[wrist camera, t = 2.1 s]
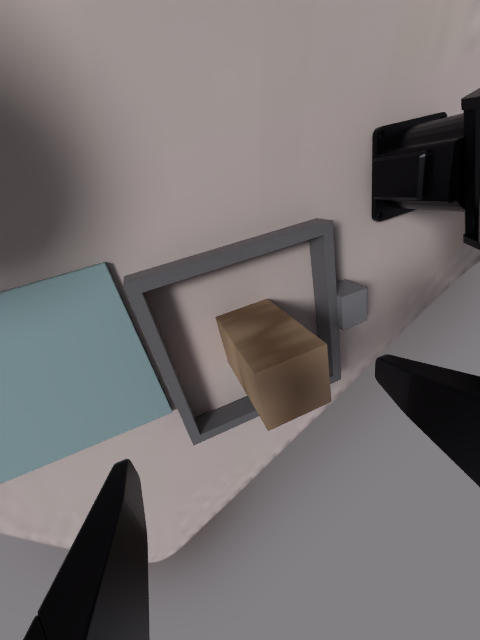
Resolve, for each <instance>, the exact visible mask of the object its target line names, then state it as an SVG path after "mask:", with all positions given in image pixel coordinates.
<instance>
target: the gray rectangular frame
mask: <svg viewBox="0 0 480 640" xmlns="http://www.w3.org/2000/svg"><path fill="white" fill-rule="evenodd" d="M307 240H309V243H310V254H311V264H312V275H313V286H314V296H315V307H316V318H317V328H318V338H320V339H321V340H322V341H324V342H325V343H326V344H327V351H328V364H329V377H330V384H331V383H334V382H336V381H338V380H340V379H341V367H340V348H339V328H341V329H342V330H344V329H347V328H349V327H351V326H354V325H356V324H359V323H361V322H364V321H366V320H367V288H366V287H364V286H361V285H359V284H356V283H354V282H351V281H348V280H346V279H345V280H342V281H340V282H337V283H336V271H335V252H334V233H333V220H325V219H318V218H316V219H313V220H310V221H306V222H303V223H300V224H296V225H293V226H290V227H286V228H283V229H280V230H276V231H273V232H270V233H266V234H263V235H260V236H256V237H253V238H250V239H246V240H243V241H240V242H237V243H233V244H230V245H227V246H223V247H220V248H217V249H213V250H210V251H207V252H203V253H200V254H197V255H193V256H190V257H187V258H183V259H180V260H177V261H173V262H170V263H167V264H164V265H160V266H157V267H154V268H150V269H147V270H144V271H140V272H137V273H134V274H130V275H127V276H124V283H123V285H124V287H125V290H126V292H127V294H128V297H129V299H130V301H131V303H132V306H133V308H134V310H135V313H136V315H137V317H138V319H139V322H140V324H141V326H142V329H143V331H144V333H145V335H146V338H147V340H148V342H149V345H150V347H151V349H152V351H153V354H154V356H155V358H156V361H157V363H158V365H159V367H160V370H161V372H162V374H163V377H164V379H165V381H166V383H167V386H168V388H169V390H170V393H171V395H172V397H173V399H174V402H175V404H176V406H177V409H178V411H179V413H180V415H181V418H182V420H183V422H184V425H185V427H186V429H187V431H188V434H189V436H190V438H191V441H192V443H193V445H196V444H198V443H200V442H202V441H205V440H207V439H209V438H211V437H213V436H216V435H218V434H220V433H222V432H225V431H227V430H229V429H231V428H234V427H236V426H238V425H240V424H242V423H245V422H247V421H249V420H251V419H254V418H256V417H258V416H259V414H258V413H257V411H256V409H255V407H254V406H253V404H252V402H251V400H250V399H249V397H248V396H246V397H244V398H242V399H239V400H237V401H235V402H232V403H230V404H228V405H225V406H223V407H221V408H218V409H216V410H214V411H211V412H209V413H207V414H204V415H202V416H200V417H197V418H195V416H194V414H193V412H192V409H191V407H190V404H189V402H188V399H187V397H186V394H185V392H184V389H183V387H182V384H181V382H180V379H179V377H178V375H177V372H176V370H175V367H174V365H173V362H172V360H171V357H170V355H169V352H168V350H167V347H166V345H165V342H164V340H163V338H162V335H161V333H160V330H159V328H158V325H157V323H156V320H155V318H154V315H153V313H152V310H151V308H150V305H149V303H148V301H147V298H146V296H145V293H144V292H146V291H149V290H152V289H156V288H159V287H162V286H165V285H168V284H171V283H174V282H178V281H181V280H184V279H187V278H190V277H193V276H196V275H200V274H203V273H206V272H209V271H212V270H215V269H219V268H222V267H225V266H228V265H231V264H234V263H237V262H241V261H244V260H247V259H250V258H253V257H256V256H259V255H263V254H266V253H269V252H272V251H275V250H278V249H281V248H285V247H288V246H291V245H294V244H297V243H300V242H303V241H307ZM338 327H339V328H338Z"/></svg>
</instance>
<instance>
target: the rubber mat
mask: <svg viewBox="0 0 480 640" xmlns="http://www.w3.org/2000/svg"><path fill="white" fill-rule="evenodd" d="M169 413H172V409H171V407H170V404H169V402H168V400H167V398H166V395H165V393H164V391H163V389H162V387H161V384H160V382H159V380H158V378H157V376H156V373H155V371H154V369H153V367H152V364H151V362H150V360H149V358H148V356H147V353H146V351H145V349H144V347H143V345H142V342H141V340H140V338H139V336H138V333H137V331H136V329H135V327H134V325H133V322H132V320H131V318H130V316H129V314H128V311H127V309H126V307H125V305H124V302H123V300H122V298H121V296H120V294H119V291H118V289H117V287H116V285H115V283H114V280H113V278H112V276H111V274H110V272H109V269H108V267H107V265H106V263H105V262H103V263H100V264H96V265H93V266H89V267H86V268H82V269H79V270H75V271H72V272H69V273H65V274H62V275H58V276H55V277H51V278H48V279H44V280H41V281H37V282H34V283H30V284H27V285H23V286H20V287H16V288H13V289H9V290H6V291H2V292H0V483H4V482H6V481H9V480H11V479H13V478H16V477H18V476H21V475H23V474H25V473H28V472H30V471H33V470H35V469H37V468H40V467H42V466H45V465H47V464H49V463H52V462H54V461H57V460H59V459H61V458H64V457H66V456H69V455H71V454H73V453H76V452H78V451H81V450H83V449H85V448H88V447H90V446H93V445H95V444H97V443H100V442H102V441H105V440H107V439H109V438H112V437H114V436H117V435H119V434H121V433H124V432H126V431H129V430H131V429H133V428H136V427H138V426H141V425H143V424H145V423H148V422H150V421H153V420H155V419H157V418H160V417H162V416H165V415H167V414H169Z"/></svg>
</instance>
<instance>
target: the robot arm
mask: <svg viewBox="0 0 480 640" xmlns="http://www.w3.org/2000/svg"><path fill="white" fill-rule="evenodd" d="M461 106H462V110H464V113H463V114H459V115H455V116H450V117H447V114H446V113H445V112H441V113H437V114H433V115H428V116H424V117H420V118H416V119H411V120H407V121H403V122H399V123H394V124H390V125H386V126H382V127H378V128H376V129H375V131H374V133H373V144H372V219H373V220H374V221H382V220H385V219H389V218H392V217H395V216H398V215H401V214H404V213H407V212H410V211H413V210H417V209H423V210H442V211H461V212H465V234H464V235H463V242H464V243H466V244H468V245H470V246H472V247H474V248H477V249H479V250H480V88H479V89H477V90H476V91H474V92H472V93H470V94H469V95H467V96H465V97H463V98H462V99H461ZM380 132H381V137H380ZM378 213H379V216H378ZM375 378H376V380H377V381H378V383H379V384H380V385H381V386H382V387H383V389H384V390H385V391H386V392H387V393H388V394H389V396H390V397H391V398H392V399H393V400H394V402H395V403H396V404H397V405H398V406H399V407H400V409H401V410H402V411H403V412H404V413H405V414H406V415H407V416H408V417H409V418H410V419H411V420H412V421H413V422H414V423H415V424H416V425H417V426H418V427H419V428H420V429H421V430H422V431H423V432H424V433H425V434H426V435H427V436H428V437H429V438H430V439H431V440H432V441H433V442H434V443H435V444H436V445H437V446H438V447H439V448H440V449H441V450H442V451H443V452H444V453H446V454H447V455H448V456H449V457H450V458H451V459H452V460H453V461H454V462H455V463H456V464H457V465H458V466H459V467H460V468H461V469H462V470H463V471H464V472H465V473H466V474H467V475H468V476H469V477H470V478H471V479H472V480H473V481H474V482H475V483H476V484H477V485H478V486H479V487H480V376H475V375H471V374H467V373H463V372H459V371H455V370H451V369H447V368H442V367H438V366H434V365H430V364H426V363H421V362H417V361H413V360H409V359H405V358H401V357H397V356H392V355H388V354H387V355H383V356H381V357H378V358H377V359H376V363H375ZM148 596H149V594H148V543H147V529H146V521H145V513H144V505H143V498H142V490H141V482H140V478H139V475H138V473H137V471H136V470H135V468H134V466H133V464H132V462H131V461H130V460H129V459H125V460H122V461H120V462H118V463H116V464H114V466H113V467H112V469H111V471H110V473H109V475H108V477H107V479H106V481H105V483H104V485H103V487H102V488H101V490H100V492H99V494H98V496H97V498H96V500H95V502H94V504H93V506H92V508H91V510H90V512H89V514H88V516H87V517H86V519H85V521H84V523H83V525H82V527H81V529H80V531H79V533H78V535H77V537H76V539H75V541H74V543H73V544H72V546H71V548H70V550H69V552H68V554H67V556H66V558H65V560H64V562H63V564H62V566H61V568H60V570H59V572H58V574H57V575H56V577H55V579H54V581H53V583H52V585H51V587H50V589H49V591H48V593H47V595H46V597H45V599H44V600H43V602H42V604H41V607H40V608H39V610H38V615H37V616H35V618H34V620H33V621H32V623H31V625H30V627H29V629H28V631H27V633H26V635H25V637H24V639H23V640H149V597H148Z"/></svg>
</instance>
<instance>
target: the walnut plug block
mask: <svg viewBox="0 0 480 640" xmlns="http://www.w3.org/2000/svg"><path fill="white" fill-rule="evenodd" d="M216 321H217V324H218V328H219V331H220V335H221V338H222V342H223V345H224V349H225V352H226V356H227V359H228V363H229V364H230V366H231V368H232V370H233V371H234V373H235V375H236V376H237V378H238V380H239V382H240V383H241V385H242V387H243V388H244V390H245V392H246V394H247V395H248V397H249V399H250V400H251V402H252V404H253V406H254V407H255V409H256V411H257V413H258V414H259V416H260V418H261V419H262V421H263V423H264V425H265V426H266V428H267V430H268V431H269V430H271V429H274V428H276V427H278V426H280V425H282V424H284V423H287V422H289V421H291V420H293V419H295V418H297V417H299V416H302V415H304V414H306V413H308V412H310V411H312V410H314V409H317V408H319V407H321V406H323V405H325V404H327V403H330V402H331V390H330V377H329V364H328V351H327V344H326V343H325V342H324V341H322V340H321V339H320V338H318V337H317V336H316V335H315V334H313V333H312V332H311V331H309V330H308V329H307V328H305V327H304V326H303V325H301V324H300V323H299V322H297V321H296V320H295V319H294V318H292V317H291V316H290V315H288V314H287V313H286V312H284V311H283V310H282V309H280V308H279V307H278V306H276V305H275V304H274V303H273V302H271V301H270V300H269V299H265V300H262V301H260V302H257V303H254V304H251V305H248V306H245V307H243V308H240V309H237V310H234V311H231V312H229V313H226V314H223V315H220V316H217V317H216Z"/></svg>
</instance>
